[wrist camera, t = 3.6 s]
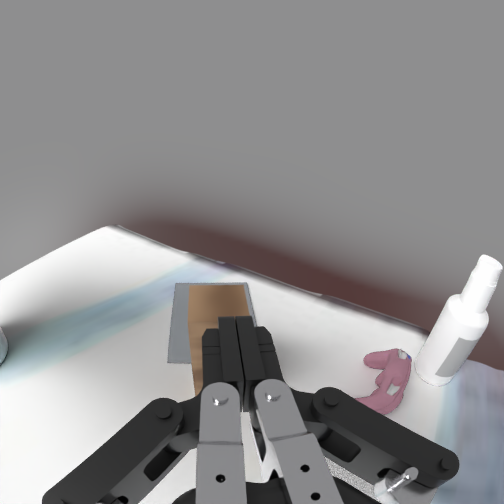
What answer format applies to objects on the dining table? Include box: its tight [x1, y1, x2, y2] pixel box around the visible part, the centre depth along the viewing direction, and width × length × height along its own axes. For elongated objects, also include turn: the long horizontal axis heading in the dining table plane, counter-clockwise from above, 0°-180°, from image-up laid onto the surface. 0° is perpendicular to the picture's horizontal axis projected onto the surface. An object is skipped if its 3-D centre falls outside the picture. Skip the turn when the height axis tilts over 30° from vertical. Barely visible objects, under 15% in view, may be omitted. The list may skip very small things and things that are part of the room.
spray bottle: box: [415, 255, 503, 386], centre depth 29 cm, size 7×7×18 cm
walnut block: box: [188, 285, 250, 396], centre depth 28 cm, size 5×5×13 cm
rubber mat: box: [167, 283, 256, 363], centre depth 42 cm, size 17×12×1 cm
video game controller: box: [354, 349, 412, 414], centre depth 30 cm, size 10×5×7 cm, turn 148°
